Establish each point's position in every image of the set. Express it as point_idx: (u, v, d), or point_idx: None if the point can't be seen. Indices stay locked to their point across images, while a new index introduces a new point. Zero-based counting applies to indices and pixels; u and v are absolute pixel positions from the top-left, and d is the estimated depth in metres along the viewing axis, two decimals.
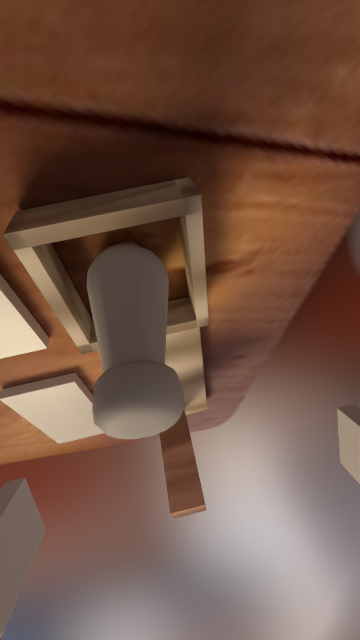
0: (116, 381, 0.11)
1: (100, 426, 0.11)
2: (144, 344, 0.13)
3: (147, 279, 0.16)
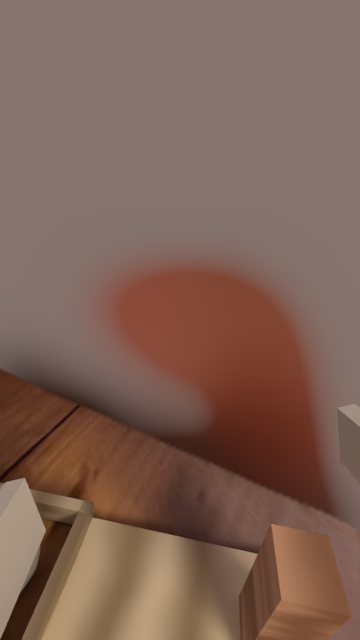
0: None
1: None
2: None
3: None
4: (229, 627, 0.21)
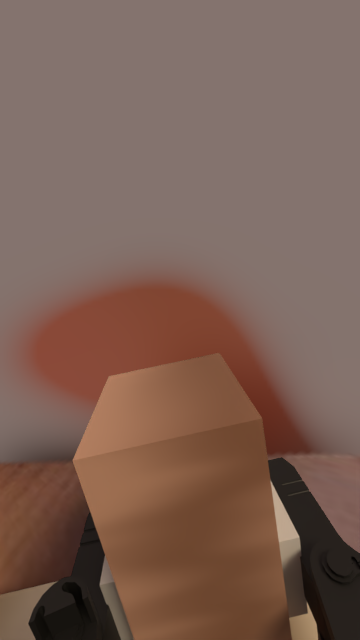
0: None
1: None
2: None
3: None
4: None
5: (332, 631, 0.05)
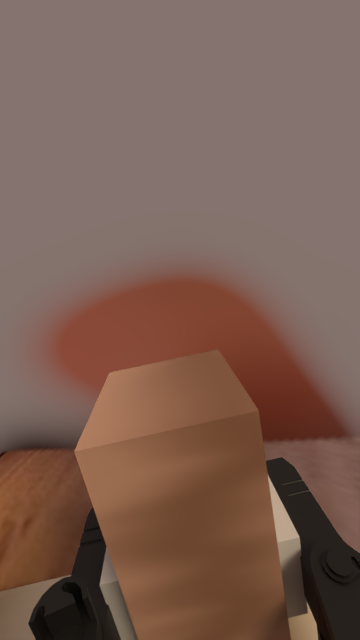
0: None
1: None
2: None
3: None
4: None
5: (332, 631, 0.05)
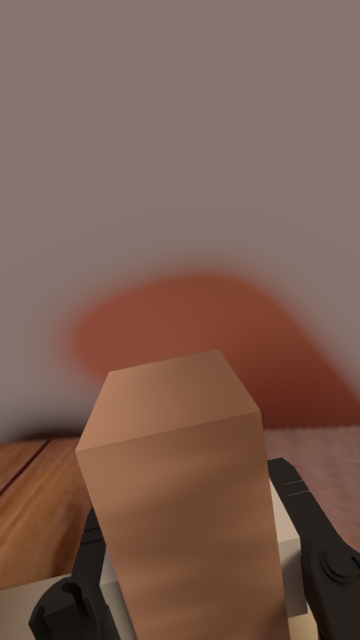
0: None
1: None
2: None
3: None
4: None
5: (332, 631, 0.05)
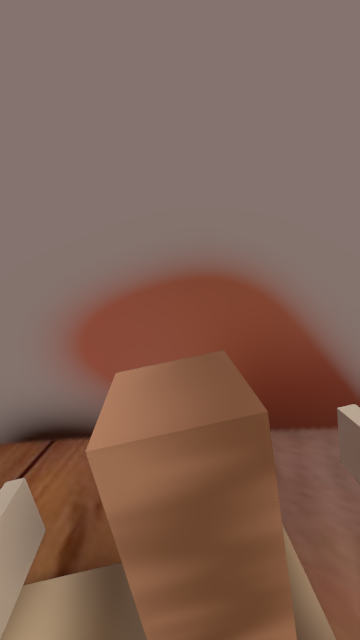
0: None
1: None
2: None
3: None
4: None
5: None
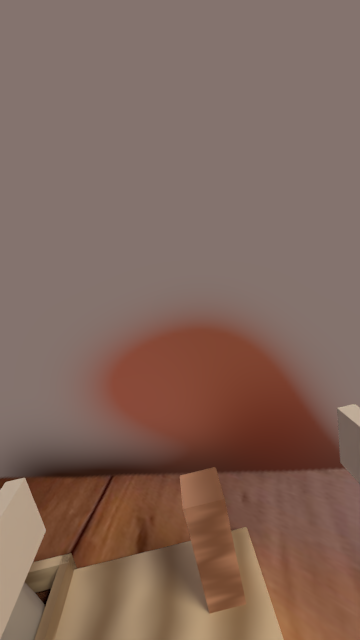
0: None
1: None
2: None
3: None
4: (198, 595, 0.26)
5: None
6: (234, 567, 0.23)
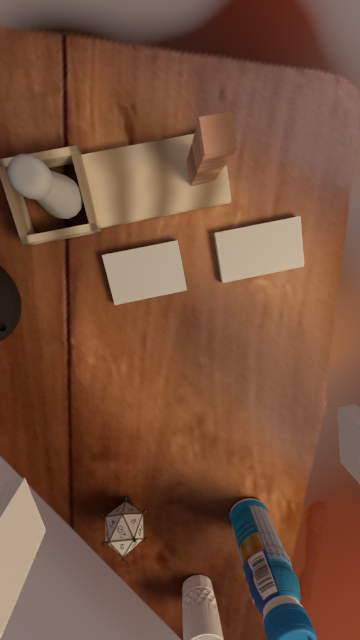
0: None
1: (28, 192, 0.28)
2: None
3: None
4: (183, 176, 0.39)
5: None
6: (218, 172, 0.35)
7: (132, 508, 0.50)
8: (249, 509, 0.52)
